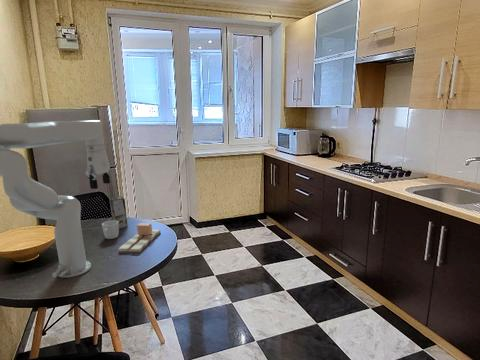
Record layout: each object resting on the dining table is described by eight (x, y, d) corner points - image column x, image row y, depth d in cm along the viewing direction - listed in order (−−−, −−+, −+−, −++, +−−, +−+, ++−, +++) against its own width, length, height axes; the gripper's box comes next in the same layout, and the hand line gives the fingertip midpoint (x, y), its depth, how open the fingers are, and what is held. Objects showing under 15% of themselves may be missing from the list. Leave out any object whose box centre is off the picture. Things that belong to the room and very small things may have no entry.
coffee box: (128, 226, 176) (125, 198, 172) (116, 229, 173) (112, 201, 169) (124, 221, 183) (120, 195, 180) (112, 224, 180) (109, 197, 176)
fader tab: (149, 237, 156) (148, 225, 155) (138, 236, 157) (136, 225, 156) (152, 234, 160) (151, 223, 158) (141, 234, 161) (140, 222, 159)
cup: (114, 242, 155) (112, 227, 153) (98, 243, 155) (96, 227, 153) (122, 234, 165) (120, 219, 163) (107, 234, 165) (105, 220, 163)
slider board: (139, 253, 142) (138, 249, 141) (118, 252, 143) (118, 248, 143) (160, 233, 165) (160, 229, 164) (142, 232, 166) (142, 228, 166)
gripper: (91, 151, 130) (96, 190, 134) (114, 146, 147) (118, 181, 150) (75, 151, 131) (81, 190, 135) (99, 146, 148) (104, 181, 152)
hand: (100, 185), depth 143 cm, fingers open, 9 cm apart
